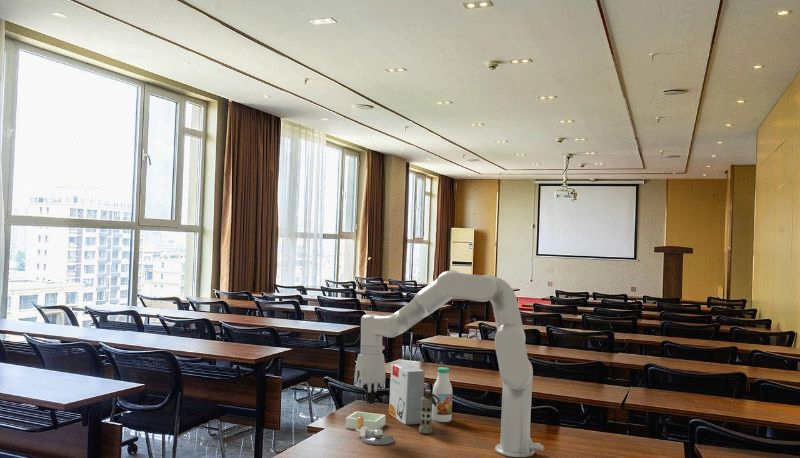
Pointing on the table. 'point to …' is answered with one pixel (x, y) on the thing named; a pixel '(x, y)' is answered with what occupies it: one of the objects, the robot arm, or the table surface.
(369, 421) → the tray
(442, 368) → the milk bottle
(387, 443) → the crank base
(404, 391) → the hard drive box
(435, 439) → the table surface
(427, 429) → the grenade model
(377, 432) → the crank lever
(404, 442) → the table surface
